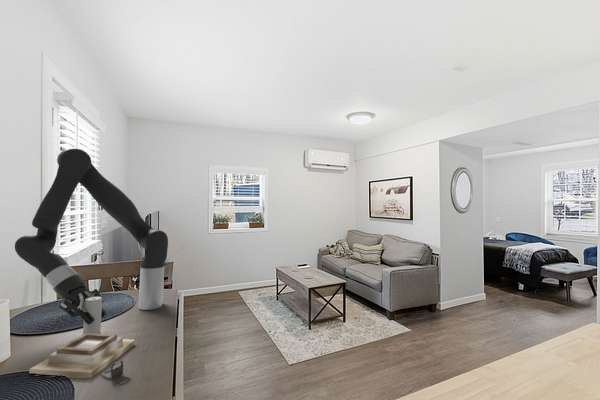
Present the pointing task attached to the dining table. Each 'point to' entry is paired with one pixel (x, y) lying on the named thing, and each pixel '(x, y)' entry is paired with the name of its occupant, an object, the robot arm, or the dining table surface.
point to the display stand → (84, 356)
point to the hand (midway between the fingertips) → (98, 319)
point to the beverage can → (93, 314)
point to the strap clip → (116, 374)
